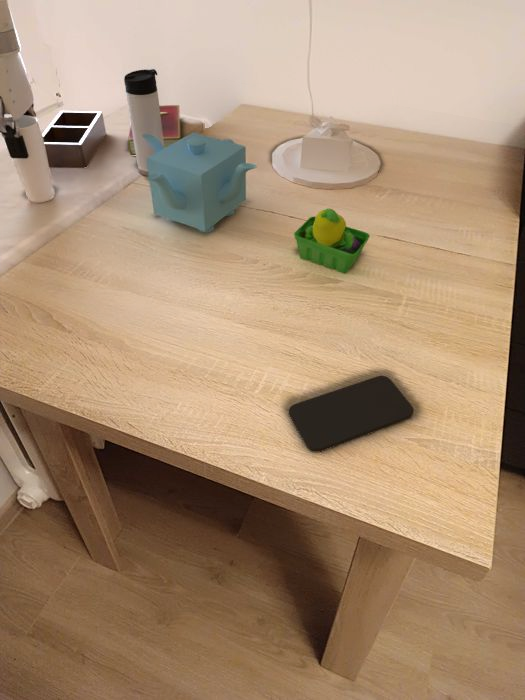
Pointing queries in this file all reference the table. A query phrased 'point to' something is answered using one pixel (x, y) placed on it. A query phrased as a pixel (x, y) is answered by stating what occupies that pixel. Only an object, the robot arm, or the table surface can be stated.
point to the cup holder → (73, 138)
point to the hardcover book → (164, 127)
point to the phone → (349, 412)
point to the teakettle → (197, 179)
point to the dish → (326, 158)
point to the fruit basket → (330, 241)
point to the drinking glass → (33, 162)
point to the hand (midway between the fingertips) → (26, 148)
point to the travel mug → (143, 113)
